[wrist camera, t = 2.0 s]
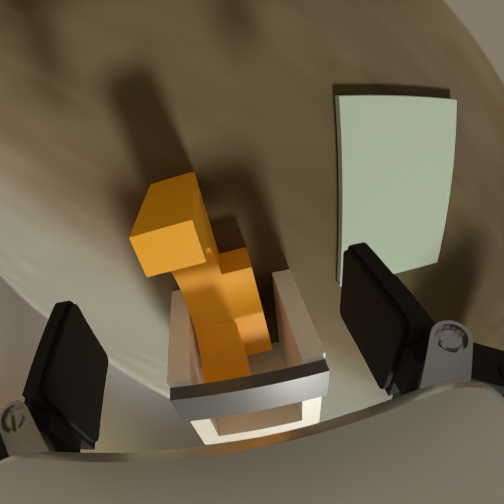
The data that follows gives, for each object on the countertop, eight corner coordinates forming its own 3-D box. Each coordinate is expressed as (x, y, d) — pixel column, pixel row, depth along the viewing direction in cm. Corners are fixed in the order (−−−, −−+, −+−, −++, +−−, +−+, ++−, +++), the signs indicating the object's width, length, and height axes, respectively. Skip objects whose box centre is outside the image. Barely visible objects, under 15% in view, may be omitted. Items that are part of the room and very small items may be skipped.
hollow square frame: (289, 269, 21) (330, 364, 14) (293, 347, 26) (321, 432, 19) (172, 291, 21) (167, 395, 14) (199, 365, 25) (206, 454, 18)
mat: (450, 98, 16) (456, 100, 16) (433, 258, 23) (437, 262, 23) (334, 95, 16) (339, 96, 15) (336, 282, 23) (339, 286, 22)
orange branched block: (264, 317, 24) (282, 387, 18) (208, 331, 23) (214, 402, 18) (225, 162, 17) (238, 207, 12) (150, 183, 17) (129, 237, 12)
